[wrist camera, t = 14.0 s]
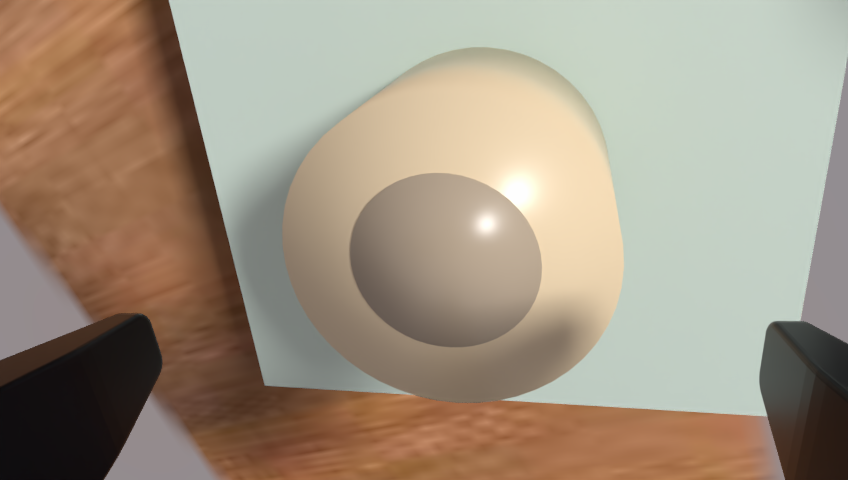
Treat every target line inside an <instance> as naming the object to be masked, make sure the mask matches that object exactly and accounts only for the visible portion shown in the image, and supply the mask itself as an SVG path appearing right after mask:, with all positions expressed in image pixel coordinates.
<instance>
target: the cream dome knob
mask: <svg viewBox="0 0 848 480" xmlns="http://www.w3.org/2000/svg"><path fill="white" fill-rule="evenodd" d="M282 245H283V251H284V258H285V264H286V268H287V271H288V275H289V278H290V282H291V284H292V287H293V289H294V292H295V294H296V296H297V299H298V301H299V303H300V304H301V306H302V308H303V310H304V311H305V313H306V315H307V317H308V318H309V319H310V321H311V322H312V324H313V325H314V326H315V328H316V329H317V330H318V332H319V333H320V334H321V335H322V336H323V337H324V339H325V340H326V341H327V342H328V343H329V344H330V345H331V346H332V347H333V348H334V349H335V350H336V351H337V352H338V353H340V354H341V355H342V356H343V357H344V358H345V359H346V360H348V361H349V362H350V363H352V364H353V365H354V366H356V367H357V368H359V369H360V370H361V371H363V372H364V373H366V374H368V375H370V376H371V377H373V378H375V379H377V380H378V381H380V382H382V383H385V384H387V385H389V386H391V387H394V388H396V389H398V390H401V391H404V392H407V393H410V394H413V395H416V396H420V397H424V398H429V399H433V400H439V401H447V402H456V403H480V402H490V401H498V400H503V399H507V398H512V397H517V396H519V395H522V394H525V393H528V392H531V391H534V390H536V389H538V388H540V387H543V386H545V385H547V384H549V383H551V382H553V381H554V380H556V379H557V378H559V377H560V376H562V375H563V374H565V373H567V372H568V371H569V370H571V369H572V368H573V367H574V366H575V365H576V364H578V363H579V362H580V361H581V360H582V359H583V358H584V357H585V356H586V355H587V354H588V353H589V352H590V350H591V349H592V348H593V347H594V346H595V345H596V344H597V342H598V341H599V339H600V338H601V336H602V334H603V333H604V331H605V330H606V328H607V327H608V325H609V322H610V320H611V318H612V316H613V314H614V311H615V309H616V306H617V303H618V299H619V295H620V292H621V288H622V280H623V271H624V253H623V241H622V235H621V229H620V223H619V217H618V211H617V205H616V199H615V193H614V187H613V181H612V175H611V169H610V163H609V157H608V151H607V146H606V141H605V138H604V135H603V132H602V129H601V126H600V124H599V122H598V120H597V118H596V116H595V114H594V112H593V110H592V108H591V107H590V105H589V104H588V103H587V101H586V100H585V98H584V97H583V96H582V94H581V93H580V92H579V91H578V90H577V89H576V88H575V87H574V86H573V85H572V84H571V83H570V82H569V81H568V80H567V79H566V78H564V77H563V76H562V75H561V74H559V73H558V72H557V71H556V70H554V69H552V68H551V67H549V66H547V65H546V64H544V63H542V62H540V61H538V60H536V59H533V58H531V57H529V56H526V55H524V54H521V53H517V52H513V51H510V50H505V49H498V48H490V47H471V48H464V49H457V50H452V51H448V52H445V53H441V54H438V55H435V56H433V57H431V58H429V59H426V60H424V61H422V62H420V63H419V64H417V65H415V66H414V67H412V68H411V69H409V70H407V71H406V72H405V73H403V74H402V75H401V76H399V77H398V78H397V79H396V80H394V81H393V82H392V83H390V84H389V85H388V86H386V87H385V88H384V89H382V90H381V91H380V92H378V93H377V94H376V95H374V96H373V97H372V98H370V99H369V100H368V101H366V102H365V103H364V104H362V105H361V106H360V107H359V108H357V109H356V110H355V111H353V112H352V113H351V114H349V115H348V116H347V117H345V118H344V119H343V120H341V121H340V122H339V123H338V124H336V125H335V126H334V127H333V128H332V129H330V130H329V131H328V132H327V133H326V134H325V135H323V136H322V137H321V139H320V140H319V141H318V142H317V143H316V144H315V145H314V147H313V148H312V149H311V150H310V151H309V153H308V154H307V156H306V157H305V159H304V160H303V162H302V163H301V165H300V167H299V168H298V170H297V172H296V175H295V177H294V179H293V181H292V184H291V186H290V189H289V192H288V196H287V199H286V203H285V208H284V215H283V223H282Z"/></svg>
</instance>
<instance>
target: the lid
mask: <svg viewBox="0 0 848 480" xmlns="http://www.w3.org/2000/svg"><path fill="white" fill-rule="evenodd" d="M169 3H170V7H171V11H172V15H173V19H174V23H175V27H176V31H177V35H178V39H179V43H180V47H181V51H182V55H183V59H184V63H185V67H186V71H187V75H188V79H189V84H190V88H191V92H192V96H193V100H194V104H195V108H196V112H197V116H198V120H199V124H200V128H201V132H202V136H203V140H204V144H205V148H206V152H207V156H208V160H209V164H210V168H211V172H212V176H213V180H214V184H215V188H216V192H217V196H218V200H219V204H220V208H221V212H222V216H223V220H224V224H225V228H226V232H227V236H228V240H229V244H230V248H231V252H232V256H233V260H234V264H235V268H236V272H237V276H238V280H239V284H240V288H241V292H242V296H243V300H244V304H245V308H246V312H247V316H248V320H249V324H250V328H251V332H252V336H253V340H254V344H255V348H256V352H257V356H258V360H259V364H260V368H261V372H262V376H263V381H264V385H265V386H278V387H294V388H310V389H327V390H343V391H360V392H376V393H393V394H409V395H413V394H410V393H407V392H404V391H401V390H398V389H396V388H394V387H391V386H389V385H387V384H385V383H382V382H380V381H378V380H377V379H375V378H373V377H371V376H370V375H368V374H366V373H364V372H363V371H361V370H360V369H359V368H357V367H356V366H354V365H353V364H352V363H350V362H349V361H348V360H346V359H345V358H344V357H343V356H342V355H341V354H340V353H338V352H337V351H336V350H335V349H334V348H333V347H332V346H331V345H330V344H329V343H328V342H327V341H326V340H325V339H324V337H323V336H322V335H321V334H320V333H319V332H318V330H317V329H316V328H315V326H314V325H313V324H312V322H311V321H310V319H309V318H308V317H307V315H306V313H305V311H304V310H303V308H302V306H301V304H300V303H299V301H298V299H297V296H296V294H295V292H294V289H293V287H292V284H291V282H290V278H289V275H288V271H287V268H286V264H285V258H284V251H283V245H282V223H283V215H284V208H285V203H286V199H287V196H288V192H289V189H290V186H291V184H292V181H293V179H294V177H295V175H296V172H297V170H298V168H299V167H300V165H301V163H302V162H303V160H304V159H305V157H306V156H307V154H308V153H309V151H310V150H311V149H312V148H313V147H314V145H315V144H316V143H317V142H318V141H319V140H320V139H321V137H322V136H323V135H325V134H326V133H327V132H328V131H329V130H330V129H332V128H333V127H334V126H335V125H336V124H338V123H339V122H340V121H341V120H343V119H344V118H345V117H347V116H348V115H349V114H351V113H352V112H353V111H355V110H356V109H357V108H359V107H360V106H361V105H362V104H364V103H365V102H366V101H368V100H369V99H370V98H372V97H373V96H374V95H376V94H377V93H378V92H380V91H381V90H382V89H384V88H385V87H386V86H388V85H389V84H390V83H392V82H393V81H394V80H396V79H397V78H398V77H399V76H401V75H402V74H403V73H405V72H406V71H407V70H409V69H411V68H412V67H414V66H415V65H417V64H419V63H420V62H422V61H424V60H426V59H429V58H431V57H433V56H435V55H438V54H441V53H445V52H448V51H452V50H457V49H464V48H471V47H490V48H498V49H505V50H510V51H513V52H517V53H521V54H524V55H526V56H529V57H531V58H533V59H536V60H538V61H540V62H542V63H544V64H546V65H547V66H549V67H551V68H552V69H554V70H556V71H557V72H558V73H559V74H561V75H562V76H563V77H564V78H566V79H567V80H568V81H569V82H570V83H571V84H572V85H573V86H574V87H575V88H576V89H577V90H578V91H579V92H580V93H581V94H582V96H583V97H584V98H585V100H586V101H587V103H588V104H589V105H590V107H591V108H592V110H593V112H594V114H595V116H596V118H597V120H598V122H599V124H600V126H601V129H602V132H603V135H604V138H605V141H606V146H607V151H608V157H609V163H610V169H611V175H612V181H613V187H614V193H615V199H616V205H617V211H618V217H619V223H620V229H621V235H622V241H623V253H624V271H623V280H622V288H621V292H620V295H619V299H618V303H617V306H616V309H615V311H614V314H613V316H612V318H611V320H610V322H609V325H608V327H607V328H606V330H605V331H604V333H603V334H602V336H601V338H600V339H599V341H598V342H597V344H596V345H595V346H594V347H593V348H592V349H591V350H590V352H589V353H588V354H587V355H586V356H585V357H584V358H583V359H582V360H581V361H580V362H579V363H578V364H576V365H575V366H574V367H573V368H572V369H571V370H569V371H568V372H567V373H565V374H563V375H562V376H560V377H559V378H557V379H556V380H554V381H553V382H551V383H549V384H547V385H545V386H543V387H540V388H538V389H536V390H534V391H531V392H528V393H525V394H522V395H519V396H517V397H512V398H507V399H503V400H508V401H524V402H541V403H557V404H574V405H590V406H607V407H623V408H640V409H656V410H672V411H689V412H705V413H722V414H738V415H755V416H767V413H766V409H765V406H764V402H763V399H762V395H761V391H760V385H759V373H760V366H761V360H762V353H763V347H764V340H765V334H766V330H767V327H768V325H769V324H770V323H771V322H773V321H800V320H801V314H802V309H803V303H804V298H805V292H806V286H807V281H808V276H809V269H810V264H811V259H812V253H813V248H814V242H815V236H816V231H817V226H818V220H819V215H820V209H821V203H822V198H823V192H824V186H825V181H826V176H827V170H828V164H829V159H830V153H831V148H832V142H833V137H834V131H835V126H836V120H837V115H838V109H839V103H840V98H841V92H842V87H843V81H844V75H845V70H846V64H847V59H848V0H169Z"/></svg>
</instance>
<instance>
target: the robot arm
mask: <svg viewBox="0 0 848 480" xmlns="http://www.w3.org/2000/svg"><path fill="white" fill-rule="evenodd" d="M161 369H162V355H161V352H160V349H159V346H158V343H157V340H156V337H155V334H154V331H153V328H152V325H151V322H150V320H149V319H148V318H147V317H146V316H145V315H143V314H138V313H121V314H116V315H114V316H111V317H109V318H106V319H104V320H101V321H99V322H96V323H93V324H91V325H88V326H86V327H84V328H81V329H79V330H76V331H74V332H71V333H68V334H66V335H63V336H61V337H58V338H56V339H53V340H51V341H48V342H46V343H43V344H40V345H38V346H35V347H33V348H30V349H28V350H25V351H23V352H20V353H18V354H15V355H13V356H10V357H7V358H5V359H2V360H0V480H104V479H105V477H106V476H107V474H108V472H109V471H110V469H111V467H112V466H113V464H114V462H115V460H116V459H117V457H118V456H119V454H120V452H121V450H122V448H123V446H124V444H125V443H126V441H127V438H128V437H129V434H130V432H131V431H132V428H133V427H134V425H135V423H136V420H137V419H138V416H139V415H140V412H141V411H142V409H143V406H144V405H145V403H146V401H147V399H148V397H149V395H150V393H151V391H152V389H153V387H154V385H155V383H156V381H157V379H158V377H159V375H160V372H161ZM759 385H760V391H761V395H762V399H763V402H764V406H765V409H766V413H767V416H768V420H769V424H770V427H771V431H772V434H773V438H774V441H775V445H776V448H777V452H778V456H779V459H780V463H781V466H782V470H783V473H784V477H785V480H848V344H847V343H845V342H843V341H841V340H840V339H838V338H836V337H834V336H832V335H830V334H828V333H827V332H825V331H823V330H821V329H819V328H817V327H815V326H813V325H812V324H810V323H808V322H804V321H773V322H771V323H770V324H769V325H768V327H767V330H766V334H765V340H764V347H763V353H762V360H761V366H760V373H759Z"/></svg>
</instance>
